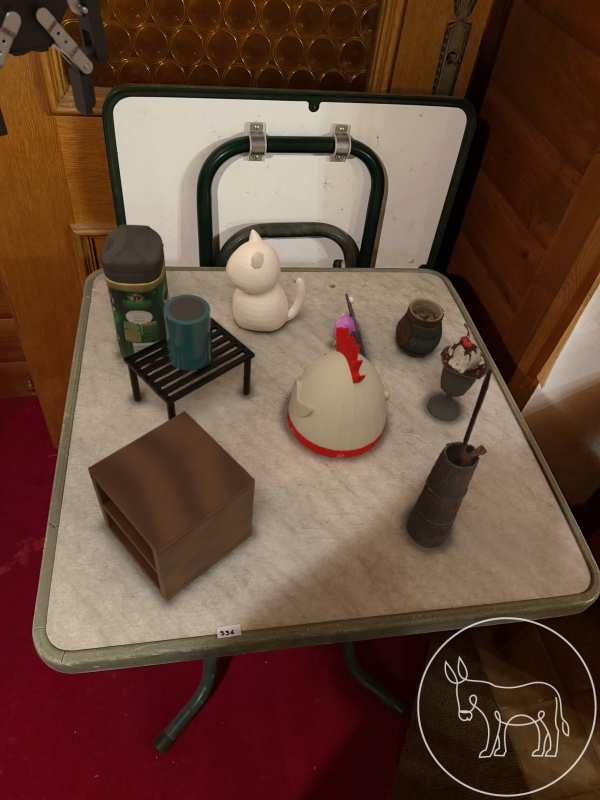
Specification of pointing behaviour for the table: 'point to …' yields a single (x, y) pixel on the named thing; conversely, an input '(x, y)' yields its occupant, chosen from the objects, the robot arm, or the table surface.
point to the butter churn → (446, 485)
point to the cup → (188, 332)
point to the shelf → (175, 502)
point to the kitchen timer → (339, 402)
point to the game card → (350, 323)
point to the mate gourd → (420, 327)
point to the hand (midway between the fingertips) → (43, 122)
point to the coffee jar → (136, 286)
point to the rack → (164, 393)
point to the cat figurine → (260, 287)
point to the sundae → (457, 376)
